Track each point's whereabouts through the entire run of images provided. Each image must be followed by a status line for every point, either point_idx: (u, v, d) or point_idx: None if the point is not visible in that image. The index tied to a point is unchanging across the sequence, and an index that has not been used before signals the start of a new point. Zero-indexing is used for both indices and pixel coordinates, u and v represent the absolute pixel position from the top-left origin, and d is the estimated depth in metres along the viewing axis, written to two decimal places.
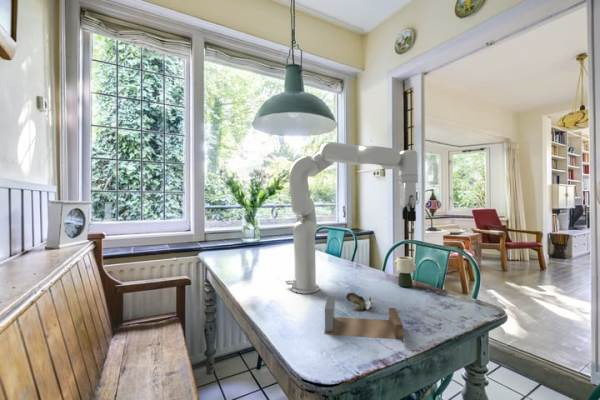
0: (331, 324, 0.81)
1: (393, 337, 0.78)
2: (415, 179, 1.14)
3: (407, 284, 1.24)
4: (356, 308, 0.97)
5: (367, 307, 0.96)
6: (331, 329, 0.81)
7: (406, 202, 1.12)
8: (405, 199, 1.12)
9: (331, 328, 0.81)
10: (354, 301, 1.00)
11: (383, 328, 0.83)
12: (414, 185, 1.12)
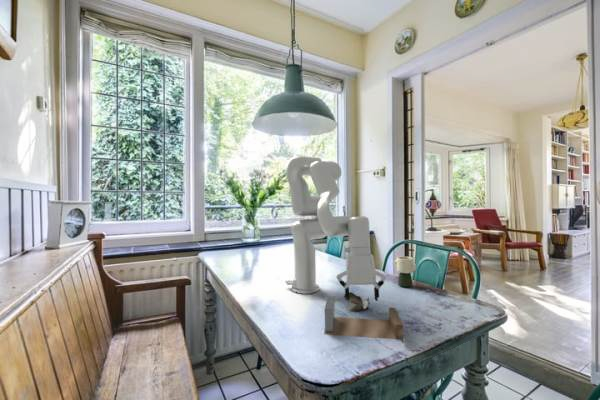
0: (331, 324, 0.81)
1: (393, 337, 0.78)
2: None
3: (407, 284, 1.24)
4: (353, 307, 0.97)
5: (364, 307, 0.96)
6: (331, 329, 0.81)
7: None
8: (375, 275, 0.95)
9: (331, 328, 0.81)
10: (352, 301, 1.00)
11: (383, 328, 0.83)
12: None
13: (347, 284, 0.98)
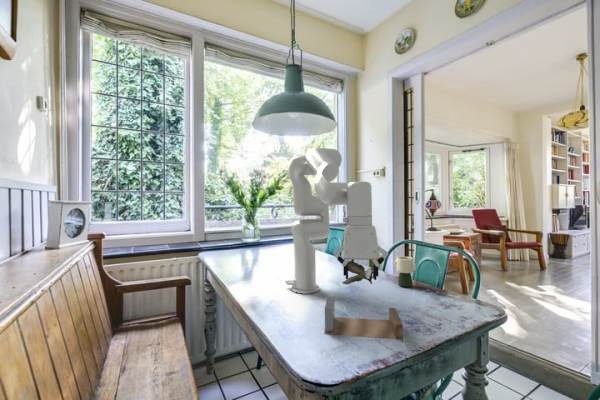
0: (331, 324, 0.81)
1: (393, 337, 0.78)
2: None
3: (407, 284, 1.24)
4: (354, 277, 0.83)
5: (367, 276, 0.82)
6: (331, 329, 0.81)
7: (377, 253, 0.83)
8: (377, 249, 0.82)
9: (331, 328, 0.81)
10: (353, 270, 0.86)
11: (383, 328, 0.83)
12: None
13: (346, 260, 0.85)
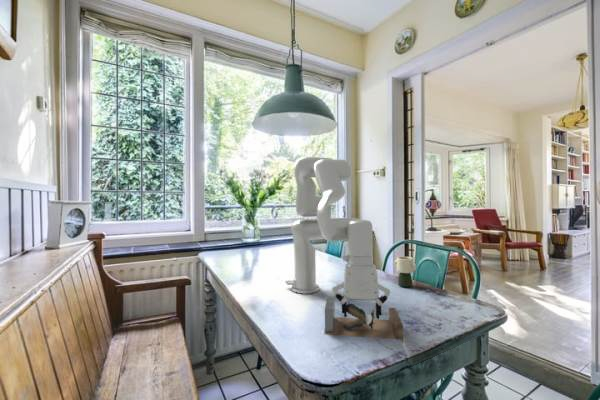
0: (331, 324, 0.81)
1: (393, 337, 0.78)
2: None
3: (407, 284, 1.24)
4: (355, 323, 0.82)
5: (367, 322, 0.81)
6: (331, 329, 0.81)
7: (378, 294, 0.82)
8: (378, 290, 0.81)
9: (331, 328, 0.81)
10: (353, 314, 0.85)
11: (383, 328, 0.83)
12: None
13: (344, 298, 0.84)
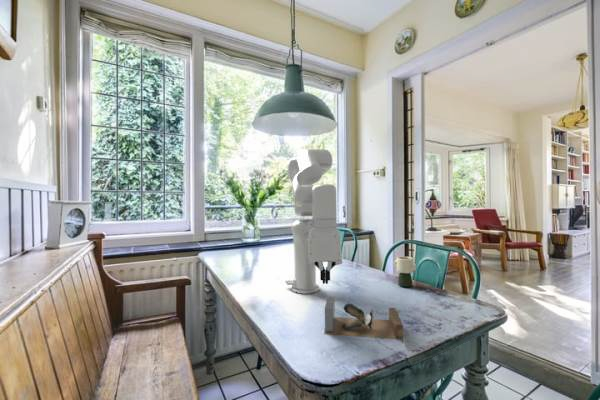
0: (331, 324, 0.81)
1: (393, 337, 0.78)
2: None
3: (407, 284, 1.24)
4: (353, 323, 0.82)
5: (366, 322, 0.81)
6: (331, 329, 0.81)
7: None
8: (340, 252, 0.83)
9: (331, 328, 0.81)
10: (352, 314, 0.85)
11: (383, 328, 0.83)
12: None
13: (320, 265, 0.85)
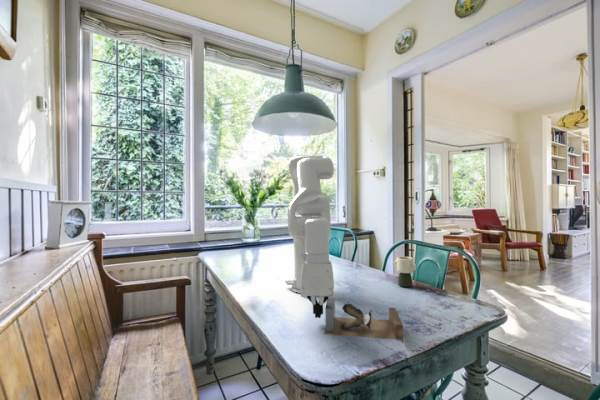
0: (332, 324, 0.81)
1: (393, 337, 0.78)
2: None
3: (407, 284, 1.24)
4: (352, 323, 0.82)
5: (365, 322, 0.81)
6: (332, 329, 0.81)
7: (333, 290, 0.84)
8: (332, 286, 0.84)
9: (332, 328, 0.81)
10: (351, 314, 0.85)
11: (383, 328, 0.83)
12: None
13: (312, 299, 0.86)
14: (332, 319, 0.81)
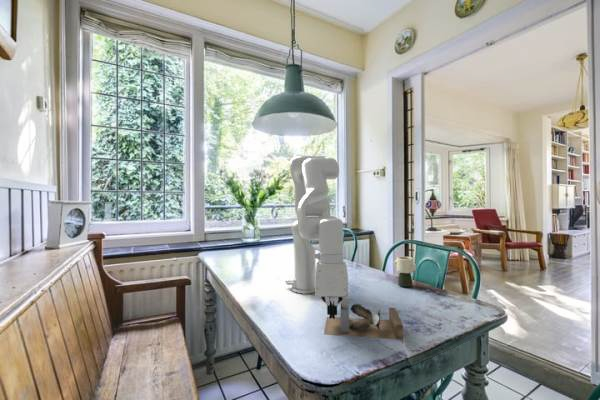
0: (347, 325, 0.80)
1: (393, 337, 0.78)
2: None
3: (407, 284, 1.24)
4: (361, 323, 0.82)
5: (374, 323, 0.80)
6: (347, 330, 0.80)
7: None
8: (347, 287, 0.83)
9: (347, 329, 0.80)
10: (360, 314, 0.85)
11: (383, 328, 0.83)
12: None
13: (326, 299, 0.85)
14: (347, 320, 0.80)
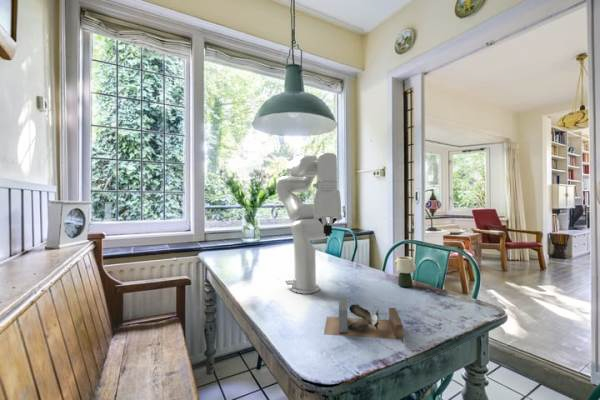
0: (345, 325, 0.80)
1: (393, 337, 0.78)
2: None
3: (407, 284, 1.24)
4: (360, 323, 0.82)
5: (373, 323, 0.80)
6: (345, 330, 0.80)
7: None
8: (340, 208, 1.00)
9: (345, 329, 0.80)
10: (358, 314, 0.84)
11: (383, 328, 0.83)
12: None
13: (323, 220, 1.02)
14: (346, 320, 0.80)
